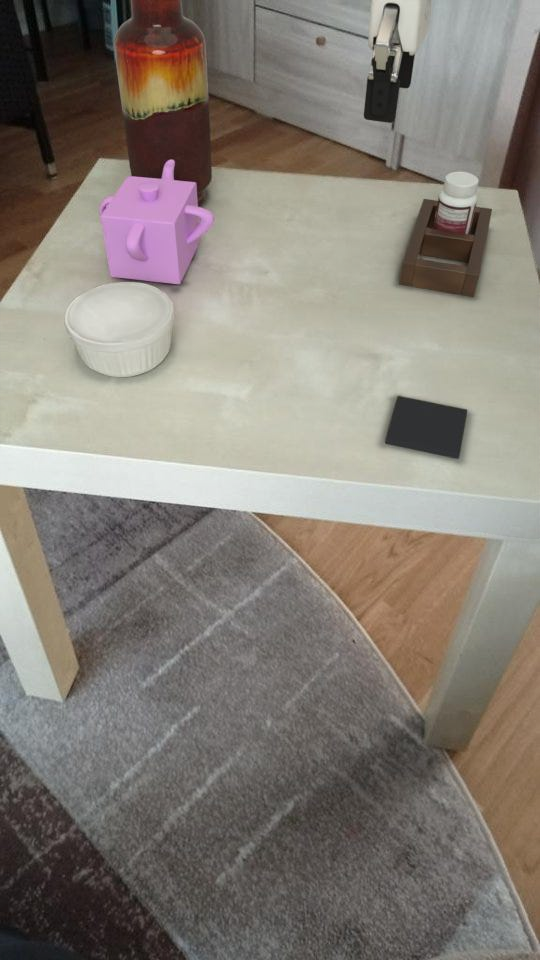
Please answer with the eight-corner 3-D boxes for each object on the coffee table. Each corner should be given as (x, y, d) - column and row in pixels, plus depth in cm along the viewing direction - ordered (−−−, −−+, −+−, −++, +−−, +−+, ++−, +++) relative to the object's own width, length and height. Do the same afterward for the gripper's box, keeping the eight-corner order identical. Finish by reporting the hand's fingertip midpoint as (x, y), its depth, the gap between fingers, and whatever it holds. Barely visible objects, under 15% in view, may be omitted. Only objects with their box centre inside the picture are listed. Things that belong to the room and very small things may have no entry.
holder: (487, 229, 98) (492, 208, 96) (473, 297, 87) (479, 275, 85) (419, 219, 100) (423, 198, 97) (398, 284, 89) (402, 262, 87)
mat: (466, 413, 73) (467, 409, 73) (458, 459, 69) (459, 454, 69) (397, 399, 75) (397, 395, 74) (385, 443, 70) (385, 439, 70)
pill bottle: (444, 228, 98) (457, 166, 92) (474, 241, 96) (489, 178, 90) (423, 240, 96) (434, 178, 90) (453, 254, 94) (466, 191, 87)
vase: (122, 211, 100) (89, -13, 81) (150, 175, 107) (126, -38, 88) (199, 221, 99) (185, -5, 79) (222, 184, 106) (214, -31, 86)
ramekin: (53, 371, 77) (42, 329, 73) (105, 312, 84) (97, 272, 80) (149, 396, 75) (143, 354, 71) (194, 333, 82) (191, 293, 78)
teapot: (131, 220, 98) (121, 144, 91) (232, 231, 97) (230, 154, 89) (85, 296, 86) (69, 215, 79) (200, 309, 85) (194, 228, 77)
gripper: (440, -73, 60) (408, 140, 73) (465, -112, 71) (433, 78, 84) (350, -80, 61) (335, 130, 74) (388, -117, 73) (369, 70, 85)
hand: (387, 102), depth 79 cm, fingers open, 9 cm apart
